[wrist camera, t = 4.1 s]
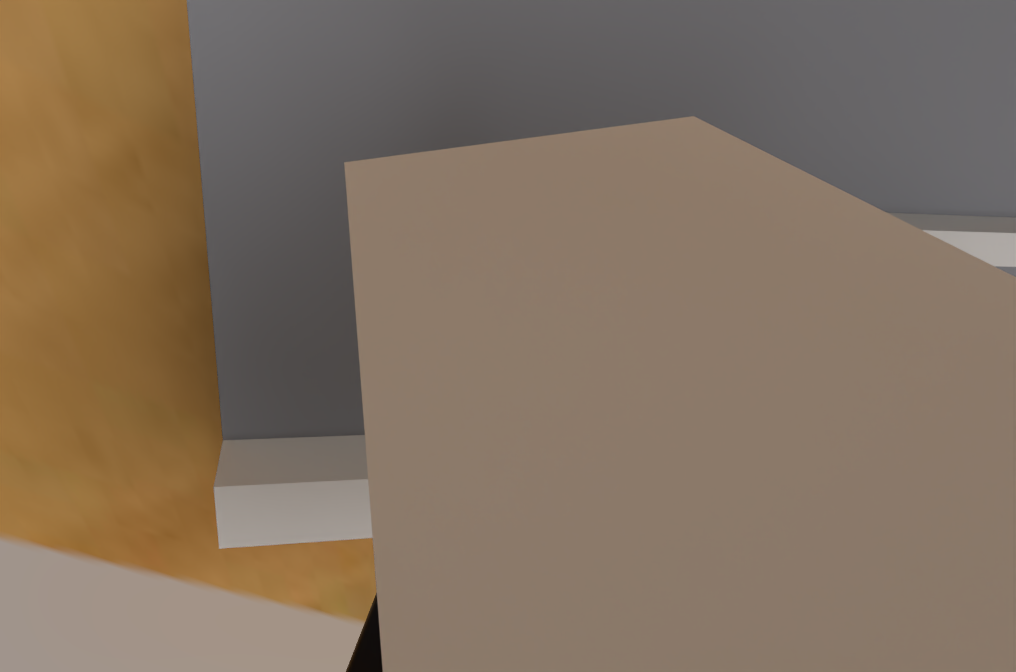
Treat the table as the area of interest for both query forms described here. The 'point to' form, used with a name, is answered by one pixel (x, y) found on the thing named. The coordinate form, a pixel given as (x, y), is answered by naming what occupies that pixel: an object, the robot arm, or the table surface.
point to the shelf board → (525, 114)
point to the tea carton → (677, 414)
